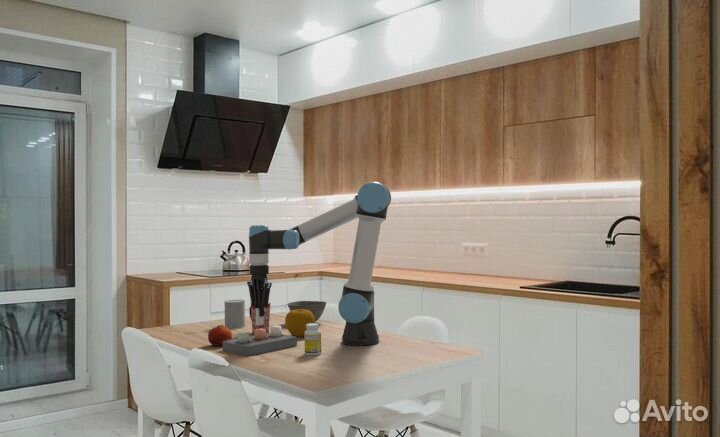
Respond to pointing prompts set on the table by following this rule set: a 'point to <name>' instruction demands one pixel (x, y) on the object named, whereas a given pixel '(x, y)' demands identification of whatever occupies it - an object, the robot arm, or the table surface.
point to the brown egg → (260, 334)
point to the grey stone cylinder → (234, 314)
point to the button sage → (243, 337)
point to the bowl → (309, 307)
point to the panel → (259, 345)
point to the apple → (298, 321)
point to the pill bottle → (312, 339)
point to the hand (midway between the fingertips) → (259, 324)
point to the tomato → (219, 335)
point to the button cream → (276, 331)
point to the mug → (266, 318)
